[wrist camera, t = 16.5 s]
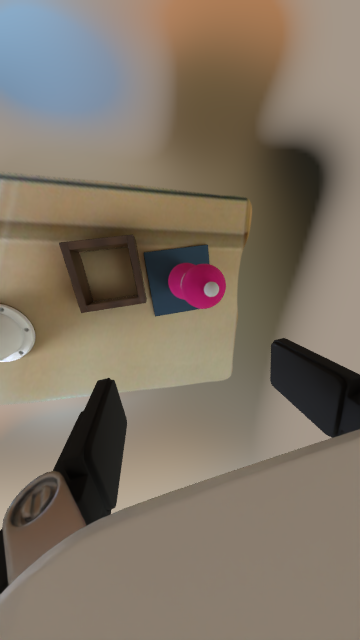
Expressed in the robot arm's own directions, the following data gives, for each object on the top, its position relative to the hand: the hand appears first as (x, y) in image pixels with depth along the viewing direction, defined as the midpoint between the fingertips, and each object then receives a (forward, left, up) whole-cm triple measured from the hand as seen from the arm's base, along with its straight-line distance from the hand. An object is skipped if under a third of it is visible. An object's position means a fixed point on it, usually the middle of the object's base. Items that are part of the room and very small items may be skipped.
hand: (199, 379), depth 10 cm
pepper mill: (+5, +3, -31) cm, 31 cm away
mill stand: (-10, +7, -31) cm, 33 cm away
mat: (+5, +3, -31) cm, 31 cm away
